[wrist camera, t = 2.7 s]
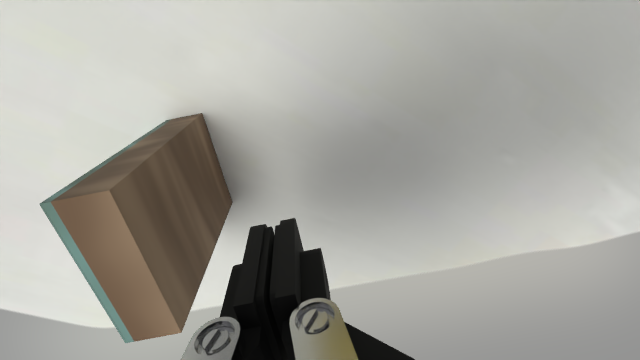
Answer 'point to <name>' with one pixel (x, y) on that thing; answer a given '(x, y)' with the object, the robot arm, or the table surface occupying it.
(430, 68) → the table surface
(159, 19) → the table surface
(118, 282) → the walnut slab
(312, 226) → the table surface
